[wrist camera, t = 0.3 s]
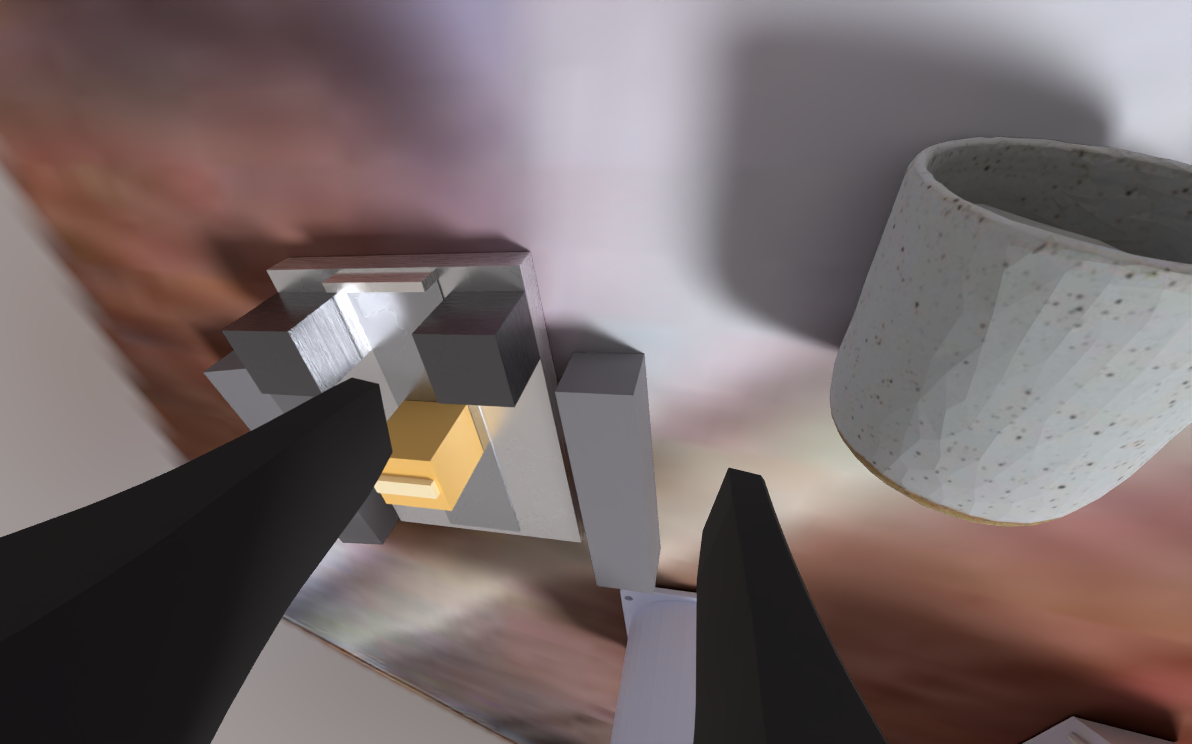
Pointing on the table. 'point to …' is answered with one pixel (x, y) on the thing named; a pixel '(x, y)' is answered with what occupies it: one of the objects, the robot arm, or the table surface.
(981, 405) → the gray rounded block
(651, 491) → the duct
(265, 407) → the duct
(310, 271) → the panel
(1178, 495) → the table surface
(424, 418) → the orange l block
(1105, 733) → the game console
